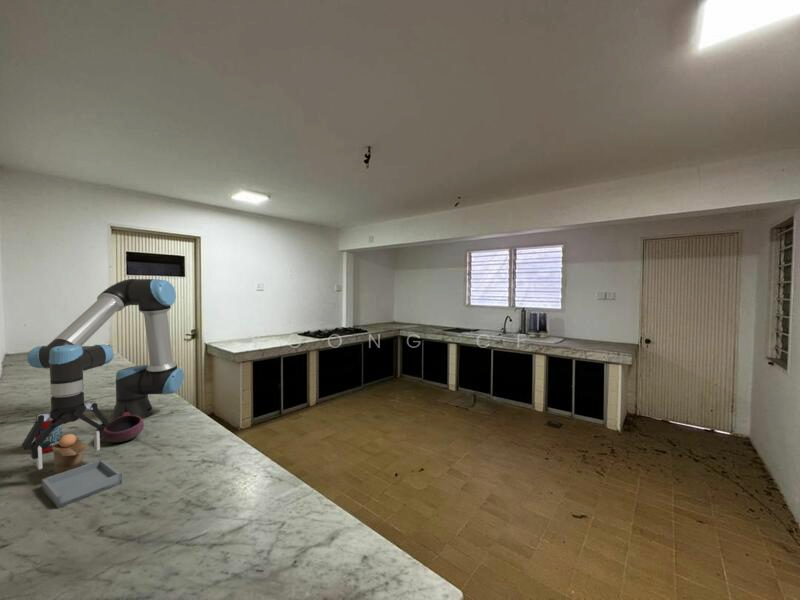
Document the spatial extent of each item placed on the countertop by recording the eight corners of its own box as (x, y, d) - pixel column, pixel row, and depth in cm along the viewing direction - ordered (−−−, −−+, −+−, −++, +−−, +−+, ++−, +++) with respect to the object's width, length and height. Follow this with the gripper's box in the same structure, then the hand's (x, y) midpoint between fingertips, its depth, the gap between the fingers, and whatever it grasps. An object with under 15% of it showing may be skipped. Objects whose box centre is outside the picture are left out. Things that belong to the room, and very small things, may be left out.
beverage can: (44, 455, 118) (44, 422, 118) (30, 453, 120) (29, 420, 119) (67, 446, 125) (66, 415, 125) (53, 444, 126) (52, 413, 126)
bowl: (150, 437, 134) (150, 417, 133) (111, 450, 122) (111, 429, 122) (130, 428, 141) (130, 410, 141) (91, 440, 130) (91, 420, 130)
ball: (74, 443, 110) (73, 431, 110) (78, 445, 108) (77, 432, 108) (57, 448, 106) (56, 436, 106) (61, 450, 104) (60, 437, 104)
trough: (78, 466, 112) (78, 437, 111) (89, 475, 106) (89, 445, 106) (51, 475, 106) (51, 445, 106) (61, 485, 100) (61, 454, 100)
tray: (102, 468, 110) (102, 459, 110) (121, 483, 102) (121, 473, 102) (41, 489, 99) (41, 479, 99) (58, 508, 90) (58, 497, 90)
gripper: (112, 382, 119) (113, 439, 120) (5, 402, 98) (8, 472, 99) (120, 385, 115) (122, 445, 116) (11, 408, 94) (14, 480, 95)
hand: (69, 457), depth 108 cm, fingers open, 13 cm apart
